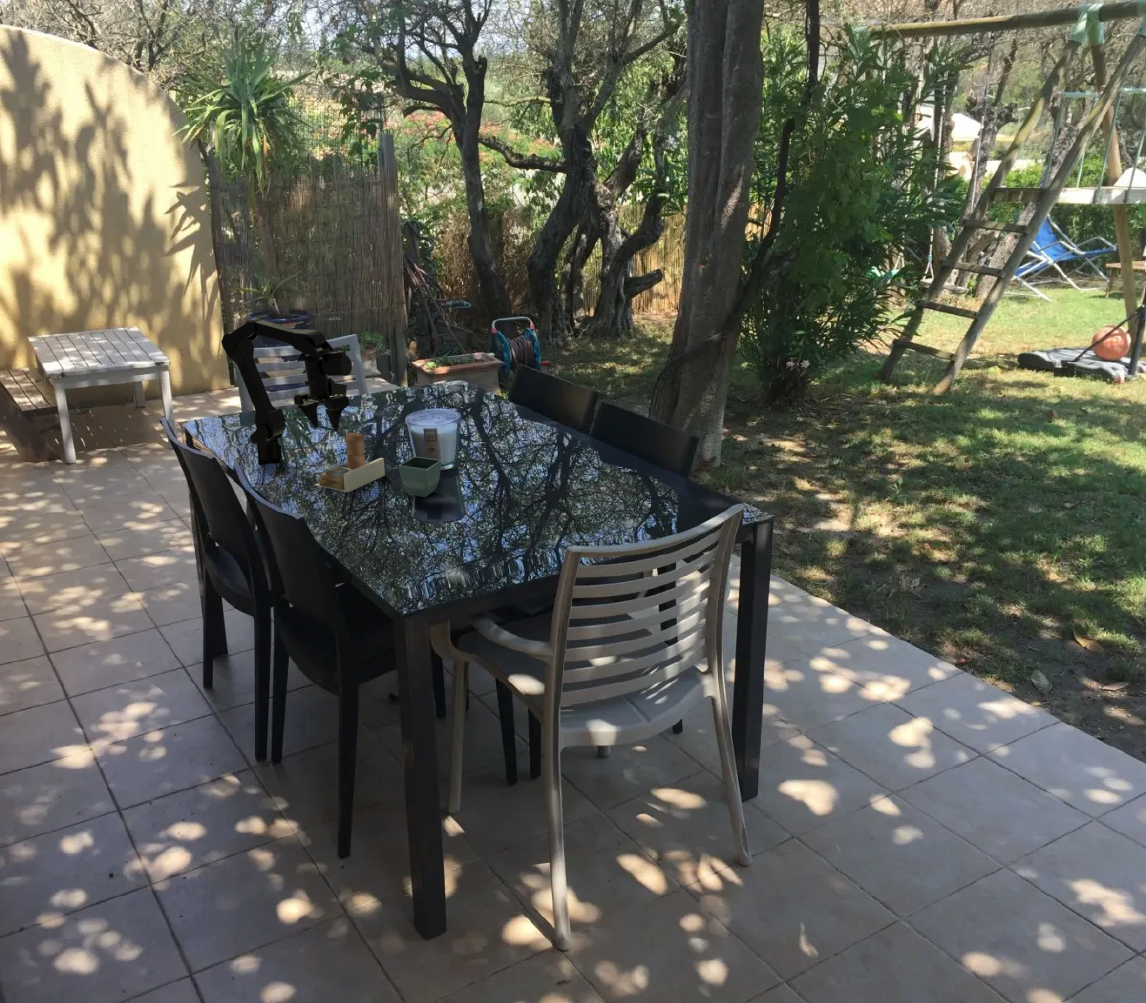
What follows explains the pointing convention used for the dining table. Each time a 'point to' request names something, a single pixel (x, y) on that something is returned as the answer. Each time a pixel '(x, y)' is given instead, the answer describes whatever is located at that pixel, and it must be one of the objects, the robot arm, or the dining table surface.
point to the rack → (362, 475)
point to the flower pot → (420, 475)
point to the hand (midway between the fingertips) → (326, 429)
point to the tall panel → (355, 450)
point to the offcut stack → (333, 477)
